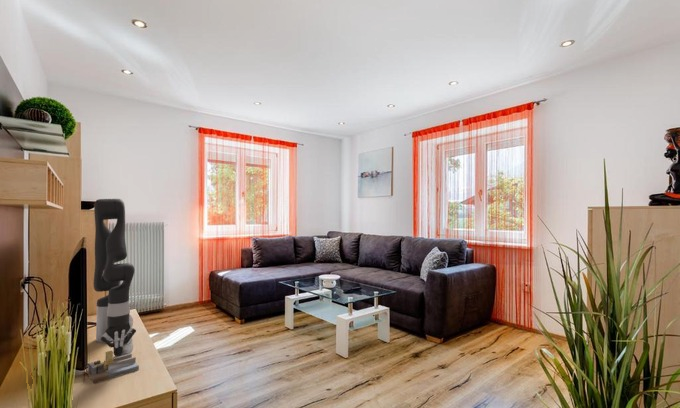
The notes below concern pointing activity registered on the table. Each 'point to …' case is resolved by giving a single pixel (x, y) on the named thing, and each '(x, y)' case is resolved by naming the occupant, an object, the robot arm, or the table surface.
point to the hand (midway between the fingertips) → (117, 355)
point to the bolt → (107, 360)
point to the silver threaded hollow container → (129, 346)
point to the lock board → (112, 368)
